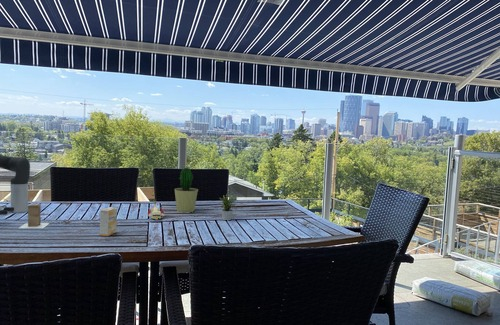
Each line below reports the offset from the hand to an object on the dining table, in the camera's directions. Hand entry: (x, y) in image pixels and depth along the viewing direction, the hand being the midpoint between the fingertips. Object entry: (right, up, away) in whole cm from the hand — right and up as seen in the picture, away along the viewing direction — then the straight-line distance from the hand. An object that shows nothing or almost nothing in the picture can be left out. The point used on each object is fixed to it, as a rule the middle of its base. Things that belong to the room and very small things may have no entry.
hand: (10, 210), depth 202 cm
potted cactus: (+82, -7, +56) cm, 100 cm away
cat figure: (+67, -8, +39) cm, 77 cm away
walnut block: (+11, -8, +3) cm, 14 cm away
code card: (+11, -8, +3) cm, 14 cm away
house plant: (+111, -10, +35) cm, 117 cm away
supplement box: (+53, -11, -6) cm, 55 cm away
